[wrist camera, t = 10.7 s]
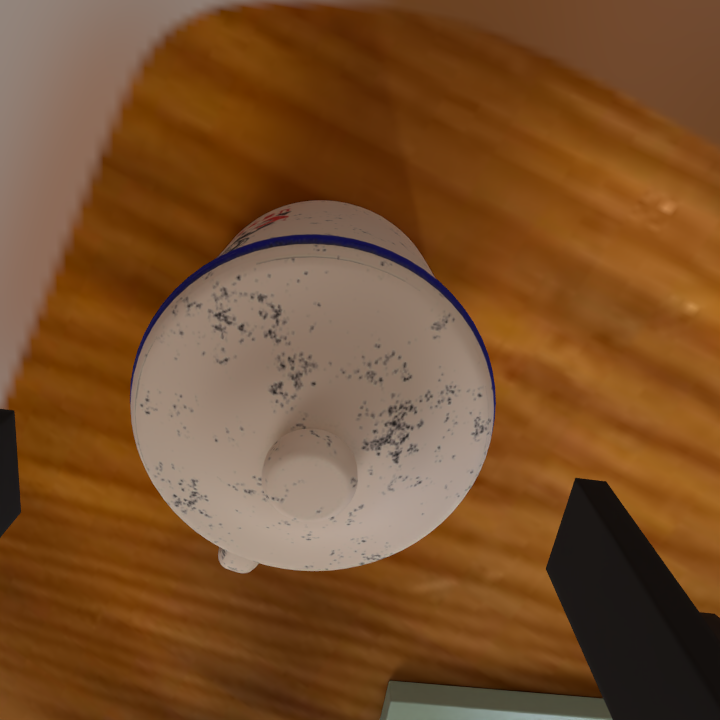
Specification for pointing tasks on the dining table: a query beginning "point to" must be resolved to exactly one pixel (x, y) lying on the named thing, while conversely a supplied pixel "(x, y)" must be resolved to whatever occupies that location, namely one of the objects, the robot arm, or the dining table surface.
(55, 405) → the dining table surface
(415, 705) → the scale
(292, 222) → the teacup with lid
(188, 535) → the dining table surface
